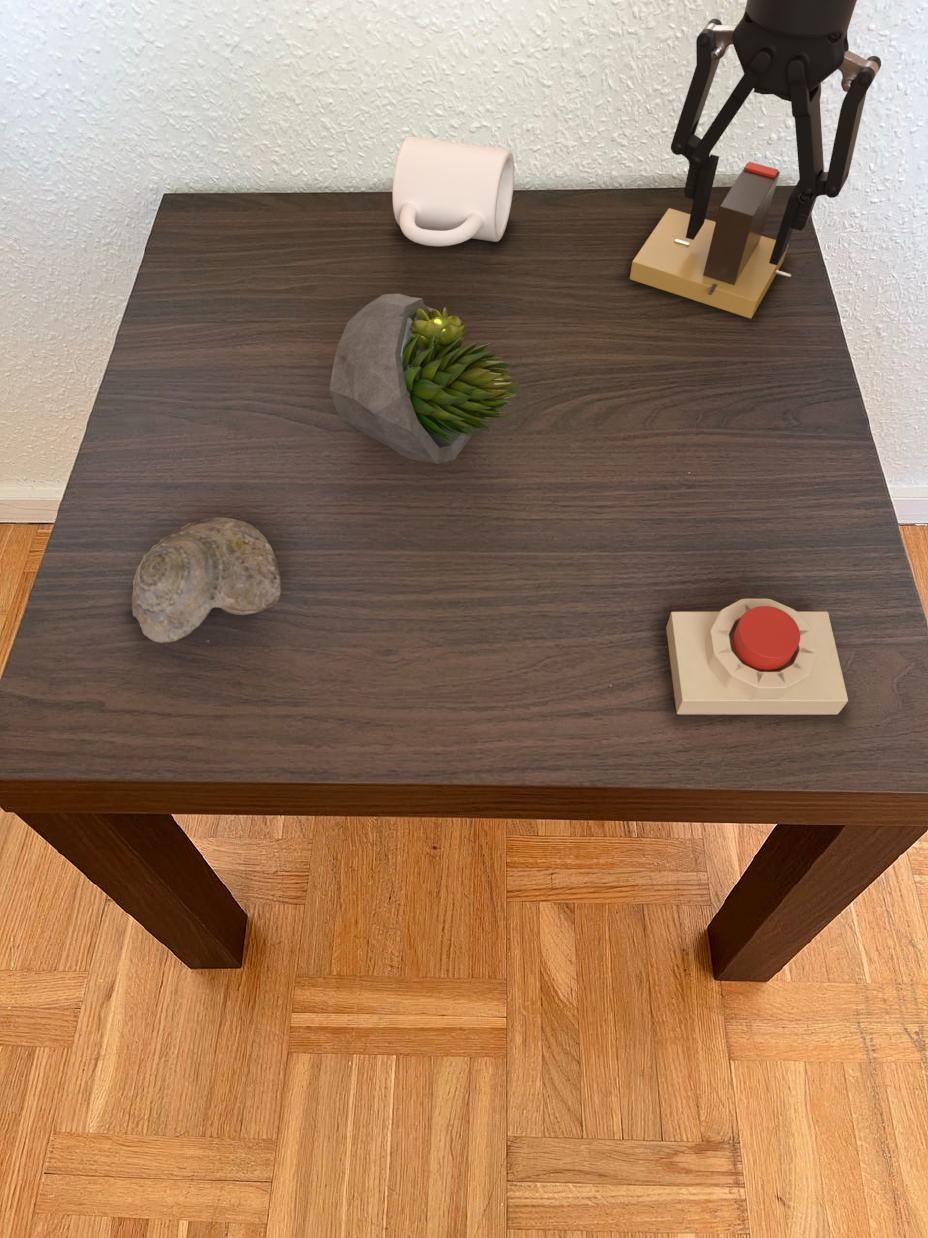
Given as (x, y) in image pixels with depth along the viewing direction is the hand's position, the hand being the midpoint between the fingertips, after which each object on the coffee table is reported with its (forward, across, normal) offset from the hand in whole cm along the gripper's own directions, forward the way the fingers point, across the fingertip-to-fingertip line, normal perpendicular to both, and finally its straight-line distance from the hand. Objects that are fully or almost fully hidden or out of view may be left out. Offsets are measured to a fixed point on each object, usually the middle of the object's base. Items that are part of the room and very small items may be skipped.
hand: (735, 242), depth 83 cm
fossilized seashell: (+4, +21, +52) cm, 56 cm away
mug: (+4, +26, +7) cm, 27 cm away
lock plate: (+4, +2, 0) cm, 4 cm away
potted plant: (+4, +15, +29) cm, 33 cm away
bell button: (0, -16, +39) cm, 42 cm away
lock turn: (+2, 0, 0) cm, 2 cm away
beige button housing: (+4, -16, +39) cm, 42 cm away
